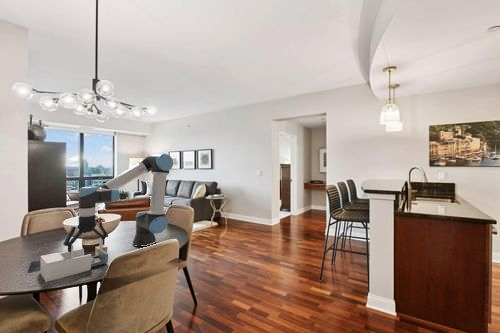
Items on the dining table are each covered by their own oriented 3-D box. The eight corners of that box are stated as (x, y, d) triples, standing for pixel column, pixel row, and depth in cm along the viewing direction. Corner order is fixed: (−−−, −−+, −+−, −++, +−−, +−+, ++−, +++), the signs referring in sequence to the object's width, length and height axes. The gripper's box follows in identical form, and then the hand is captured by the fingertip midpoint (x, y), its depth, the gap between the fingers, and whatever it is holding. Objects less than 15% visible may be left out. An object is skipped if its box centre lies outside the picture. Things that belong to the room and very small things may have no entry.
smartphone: (27, 272, 116) (30, 262, 128) (27, 274, 116) (30, 263, 128) (46, 268, 121) (48, 259, 133) (46, 270, 121) (48, 260, 133)
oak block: (104, 252, 146) (104, 244, 146) (107, 254, 143) (107, 246, 143) (95, 255, 142) (95, 246, 142) (98, 257, 139) (98, 248, 139)
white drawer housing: (82, 262, 131) (83, 247, 131) (90, 269, 122) (91, 253, 122) (40, 272, 117) (40, 255, 117) (45, 282, 108) (46, 263, 108)
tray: (100, 257, 137) (100, 248, 137) (107, 262, 129) (108, 253, 129) (64, 266, 123) (64, 256, 123) (70, 272, 116) (70, 262, 116)
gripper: (109, 210, 138) (109, 246, 138) (56, 218, 119) (56, 259, 119) (114, 212, 134) (114, 249, 134) (59, 220, 114) (59, 263, 114)
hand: (86, 253), depth 126 cm, fingers open, 13 cm apart
